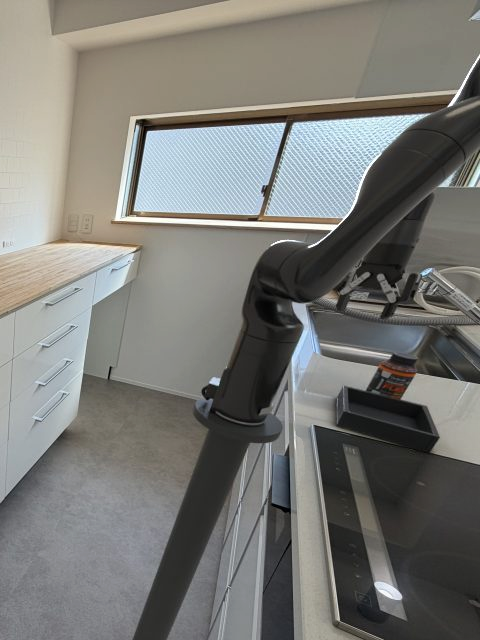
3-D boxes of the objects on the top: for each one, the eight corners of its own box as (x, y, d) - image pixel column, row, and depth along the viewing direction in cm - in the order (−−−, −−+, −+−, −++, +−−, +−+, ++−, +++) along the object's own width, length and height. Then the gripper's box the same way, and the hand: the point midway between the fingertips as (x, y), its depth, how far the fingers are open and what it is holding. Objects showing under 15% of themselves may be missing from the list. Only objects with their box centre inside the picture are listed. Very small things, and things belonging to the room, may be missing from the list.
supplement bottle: (373, 405, 92) (399, 358, 87) (356, 393, 97) (379, 348, 92) (404, 408, 91) (432, 361, 86) (384, 396, 96) (410, 351, 91)
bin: (336, 425, 83) (343, 410, 81) (336, 398, 94) (343, 385, 92) (429, 453, 76) (440, 437, 74) (418, 420, 86) (427, 405, 85)
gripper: (345, 239, 95) (318, 308, 101) (426, 244, 83) (390, 322, 89) (363, 240, 98) (336, 308, 104) (445, 245, 86) (408, 321, 92)
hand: (361, 314), depth 96 cm, fingers open, 8 cm apart
